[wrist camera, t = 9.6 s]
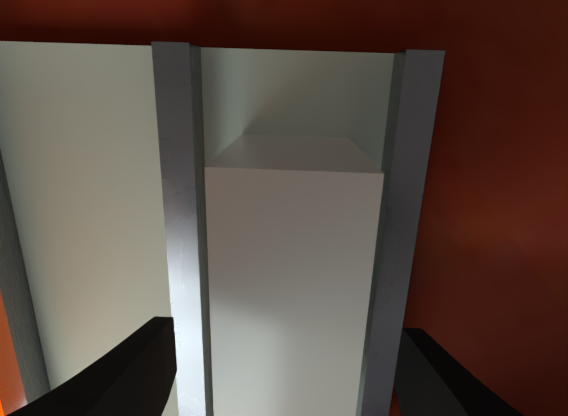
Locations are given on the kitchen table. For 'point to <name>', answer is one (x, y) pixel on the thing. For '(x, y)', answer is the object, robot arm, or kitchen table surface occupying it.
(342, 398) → the clay bar
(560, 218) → the kitchen table surface
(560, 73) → the kitchen table surface
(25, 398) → the rack
